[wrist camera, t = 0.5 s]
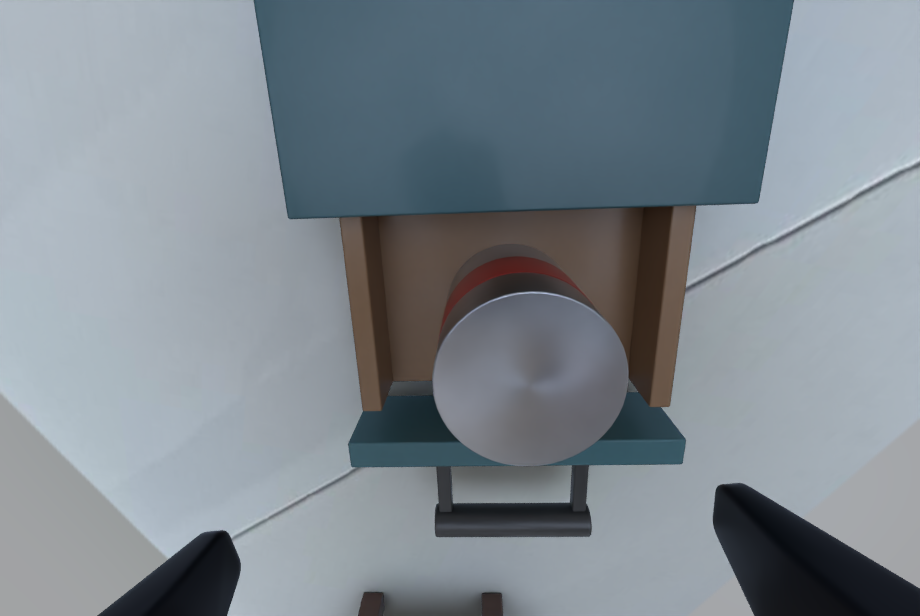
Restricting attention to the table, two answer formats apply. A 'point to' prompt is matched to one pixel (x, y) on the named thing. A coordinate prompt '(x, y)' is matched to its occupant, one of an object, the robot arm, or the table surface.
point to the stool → (374, 606)
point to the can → (525, 360)
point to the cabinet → (520, 103)
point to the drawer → (420, 318)
